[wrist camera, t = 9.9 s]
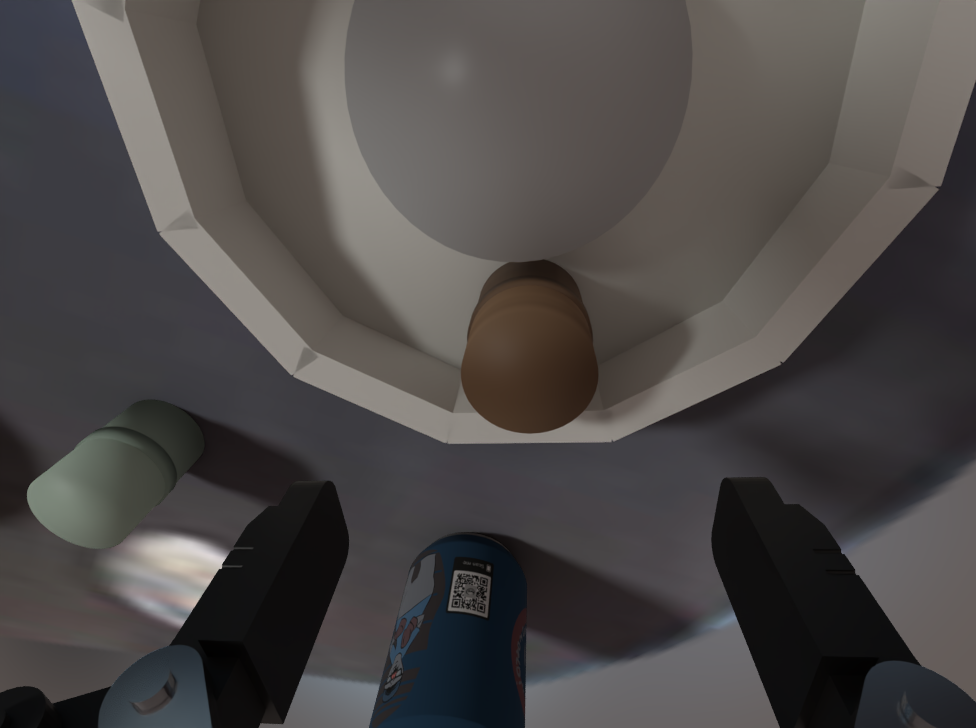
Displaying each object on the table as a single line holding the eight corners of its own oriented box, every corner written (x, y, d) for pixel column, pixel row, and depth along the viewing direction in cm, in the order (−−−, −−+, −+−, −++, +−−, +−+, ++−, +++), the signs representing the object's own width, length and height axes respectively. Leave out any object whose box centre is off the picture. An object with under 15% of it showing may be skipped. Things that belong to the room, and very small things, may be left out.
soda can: (514, 612, 32) (505, 862, 22) (407, 592, 32) (346, 833, 22) (538, 536, 29) (542, 787, 18) (420, 513, 29) (355, 753, 18)
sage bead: (108, 398, 27) (4, 473, 22) (189, 397, 26) (103, 472, 21) (142, 466, 29) (55, 549, 24) (217, 466, 28) (145, 550, 23)
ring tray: (52, -374, 14) (-136, -557, 10) (1037, -564, 12) (1298, -906, 8) (283, 392, 26) (237, 445, 22) (802, 380, 23) (857, 439, 19)
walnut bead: (471, 257, 21) (450, 313, 15) (585, 252, 20) (604, 307, 15) (480, 357, 23) (464, 436, 17) (583, 355, 22) (599, 435, 17)
